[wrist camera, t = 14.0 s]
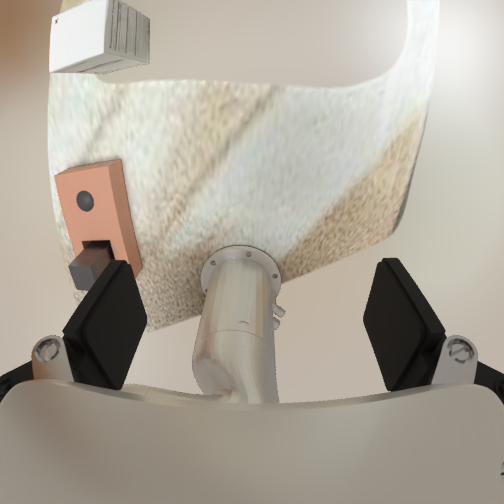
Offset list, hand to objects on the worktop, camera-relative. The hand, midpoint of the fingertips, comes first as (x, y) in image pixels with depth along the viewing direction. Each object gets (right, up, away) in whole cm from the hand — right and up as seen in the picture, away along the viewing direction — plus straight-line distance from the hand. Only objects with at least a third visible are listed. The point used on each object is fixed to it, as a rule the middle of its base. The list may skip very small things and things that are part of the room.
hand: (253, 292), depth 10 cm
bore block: (-23, +7, +29) cm, 38 cm away
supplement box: (-17, +29, +17) cm, 37 cm away
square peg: (-23, +3, +32) cm, 39 cm away
